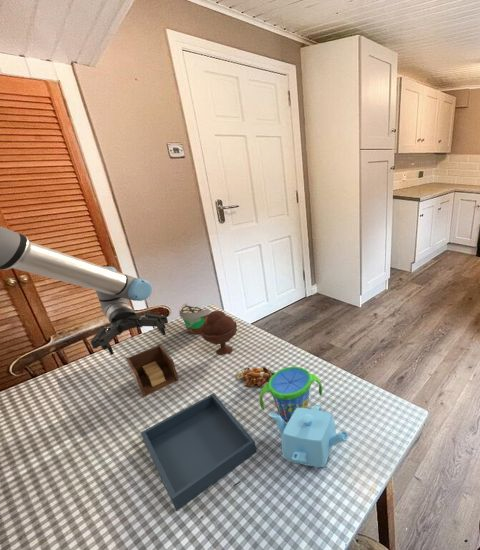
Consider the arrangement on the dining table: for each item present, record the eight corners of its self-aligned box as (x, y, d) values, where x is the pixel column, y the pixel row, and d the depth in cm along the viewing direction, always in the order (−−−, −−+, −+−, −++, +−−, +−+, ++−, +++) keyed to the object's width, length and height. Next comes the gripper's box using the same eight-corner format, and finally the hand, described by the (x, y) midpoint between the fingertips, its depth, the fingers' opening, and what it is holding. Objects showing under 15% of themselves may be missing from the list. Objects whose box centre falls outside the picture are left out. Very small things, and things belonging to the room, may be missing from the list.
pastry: (242, 368, 95) (240, 359, 94) (277, 373, 93) (276, 364, 92) (229, 383, 89) (226, 374, 88) (266, 390, 87) (264, 380, 85)
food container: (176, 333, 114) (170, 310, 110) (191, 325, 119) (185, 302, 116) (200, 340, 110) (194, 316, 106) (214, 331, 115) (209, 308, 111)
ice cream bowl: (199, 360, 99) (189, 320, 94) (220, 341, 109) (212, 304, 104) (229, 363, 98) (220, 323, 92) (247, 343, 108) (240, 306, 102)
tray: (144, 443, 71) (140, 432, 70) (216, 403, 82) (213, 392, 81) (176, 511, 57) (171, 499, 56) (256, 452, 69) (254, 440, 67)
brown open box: (133, 380, 91) (125, 358, 88) (167, 365, 97) (160, 344, 94) (144, 398, 84) (135, 375, 81) (179, 381, 90) (172, 359, 87)
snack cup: (321, 391, 86) (319, 361, 82) (325, 420, 77) (323, 389, 73) (264, 400, 83) (259, 370, 79) (261, 432, 73) (255, 400, 70)
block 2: (149, 381, 89) (145, 372, 88) (162, 375, 92) (159, 366, 90) (152, 387, 87) (149, 377, 86) (165, 380, 90) (162, 371, 88)
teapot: (355, 434, 73) (354, 402, 69) (337, 494, 60) (335, 459, 56) (286, 421, 76) (282, 390, 73) (256, 475, 64) (248, 441, 60)
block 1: (145, 375, 92) (142, 366, 90) (158, 370, 94) (155, 361, 93) (148, 380, 90) (145, 371, 88) (161, 374, 92) (158, 365, 91)
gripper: (165, 313, 116) (185, 333, 103) (79, 341, 99) (90, 370, 86) (160, 295, 113) (179, 314, 100) (70, 321, 96) (80, 348, 83)
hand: (138, 340), depth 93 cm, fingers open, 13 cm apart
